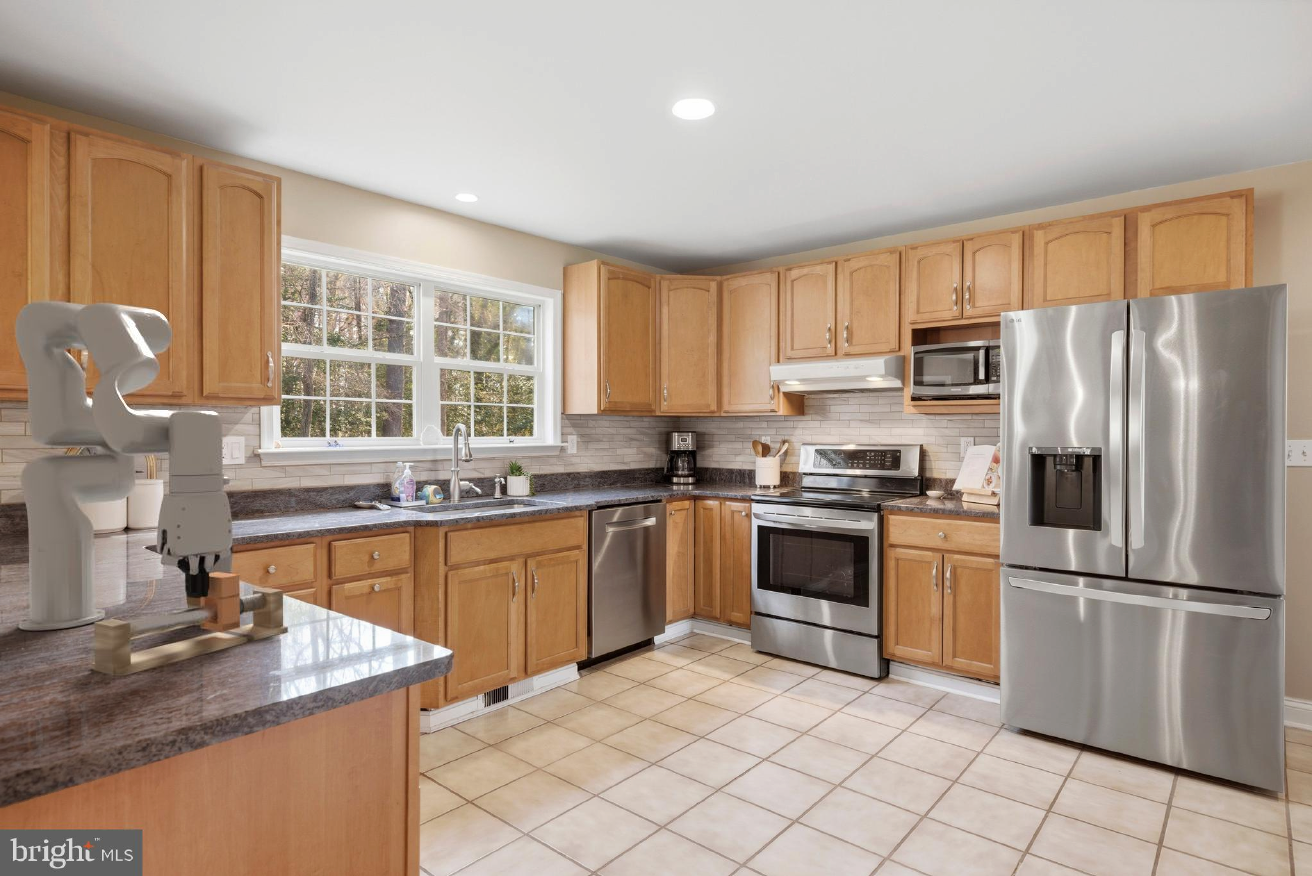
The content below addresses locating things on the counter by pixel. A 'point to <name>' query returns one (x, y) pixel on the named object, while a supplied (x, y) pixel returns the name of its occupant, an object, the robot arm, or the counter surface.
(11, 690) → the counter surface
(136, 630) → the pipe
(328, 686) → the counter surface
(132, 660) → the beige long frame
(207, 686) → the counter surface
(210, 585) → the collar
